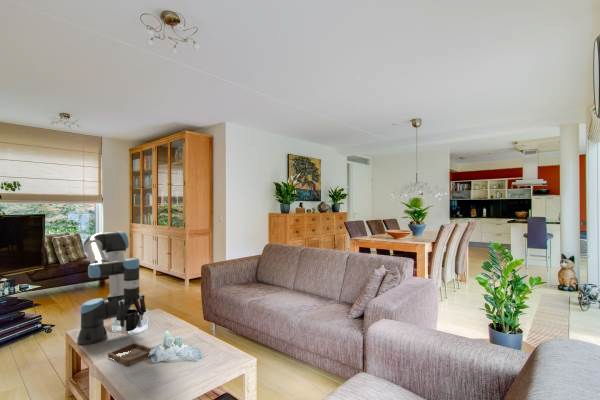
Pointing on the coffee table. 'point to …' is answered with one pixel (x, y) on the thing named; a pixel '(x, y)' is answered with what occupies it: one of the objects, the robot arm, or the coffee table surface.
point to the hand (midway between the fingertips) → (131, 329)
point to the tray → (130, 354)
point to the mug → (132, 319)
